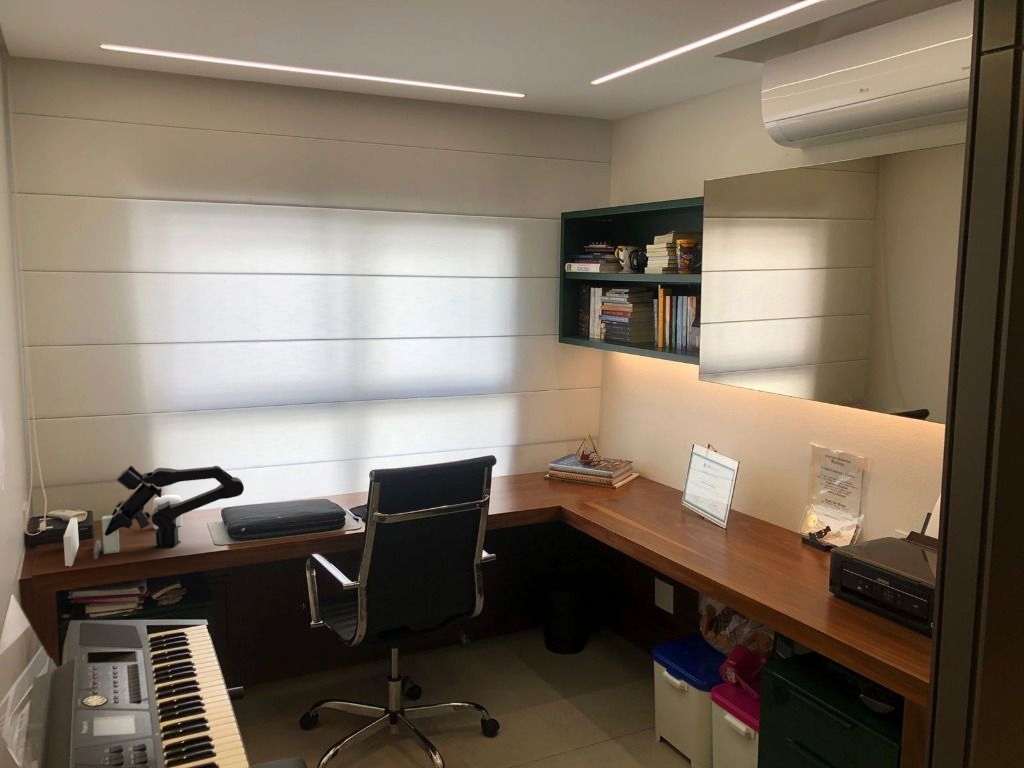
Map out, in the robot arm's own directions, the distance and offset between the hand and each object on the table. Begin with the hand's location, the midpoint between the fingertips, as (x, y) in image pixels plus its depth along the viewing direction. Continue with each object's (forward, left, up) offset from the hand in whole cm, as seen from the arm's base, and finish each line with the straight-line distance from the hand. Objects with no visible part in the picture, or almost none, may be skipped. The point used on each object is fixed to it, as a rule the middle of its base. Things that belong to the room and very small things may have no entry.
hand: (106, 533), depth 283 cm
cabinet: (-1, -1, -7) cm, 7 cm away
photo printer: (-8, -30, -7) cm, 32 cm away
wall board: (+6, +3, -7) cm, 9 cm away
